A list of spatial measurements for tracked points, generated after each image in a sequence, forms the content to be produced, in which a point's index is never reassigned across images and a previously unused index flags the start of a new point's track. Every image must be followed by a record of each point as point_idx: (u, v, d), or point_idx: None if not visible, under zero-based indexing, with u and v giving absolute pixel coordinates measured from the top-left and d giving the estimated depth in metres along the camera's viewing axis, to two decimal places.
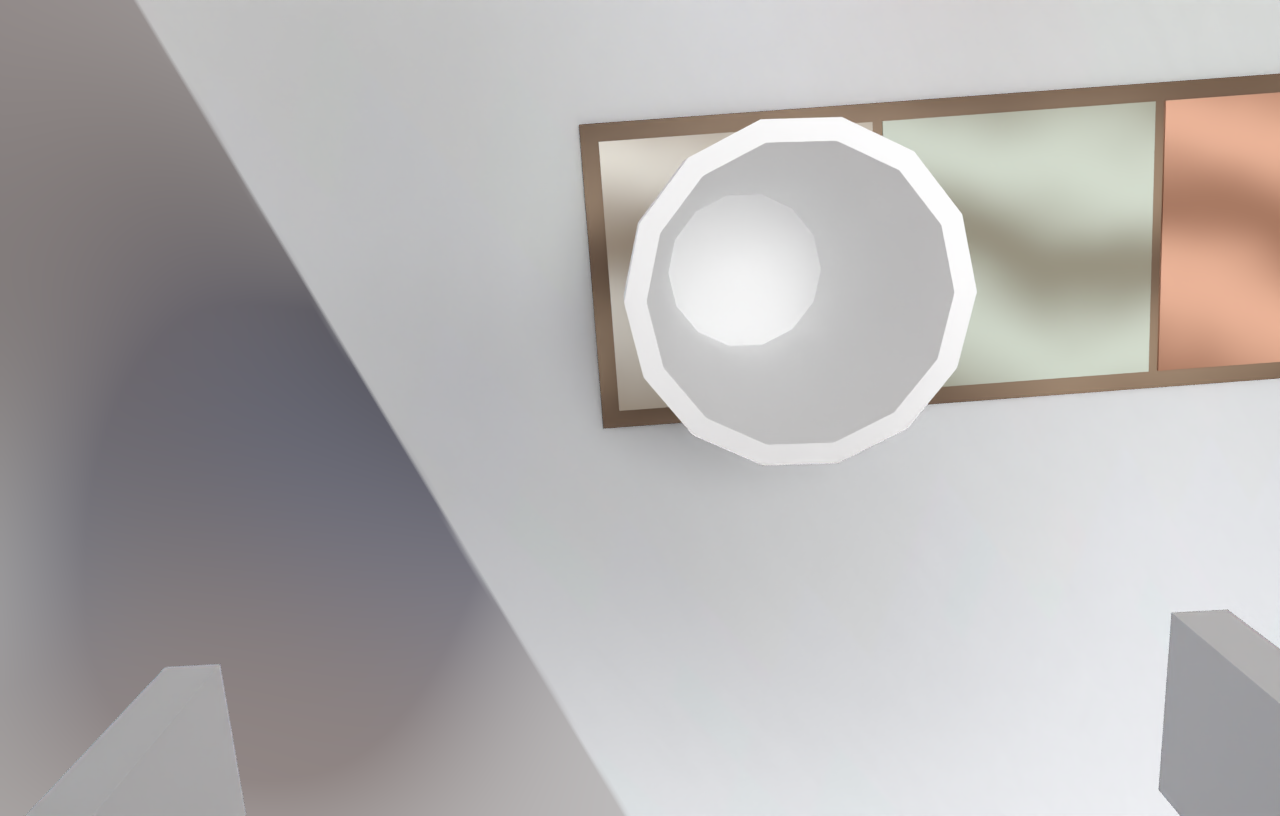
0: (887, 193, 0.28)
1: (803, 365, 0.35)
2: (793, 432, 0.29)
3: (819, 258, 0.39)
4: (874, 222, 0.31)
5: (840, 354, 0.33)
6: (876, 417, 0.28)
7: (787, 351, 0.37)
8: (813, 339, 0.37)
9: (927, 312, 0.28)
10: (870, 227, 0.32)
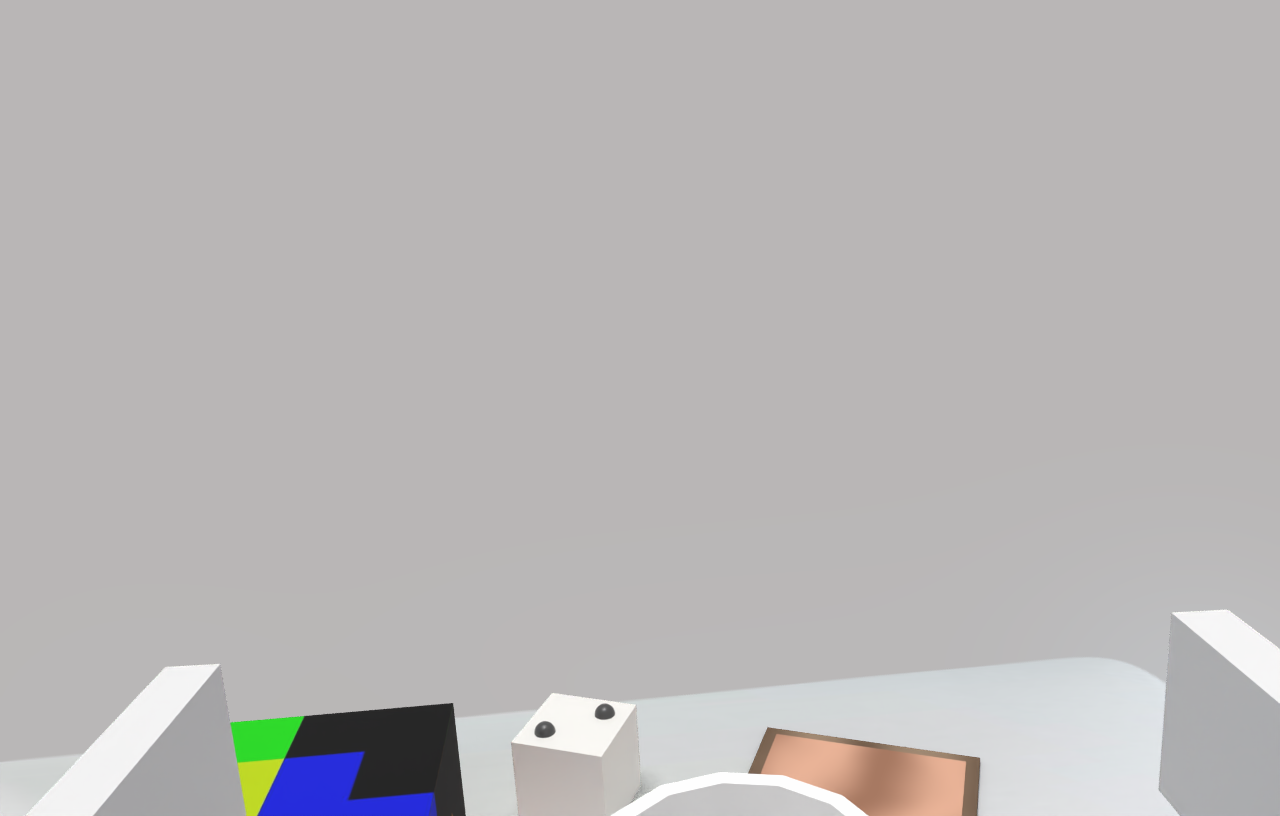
0: None
1: None
2: None
3: None
4: None
5: None
6: None
7: None
8: None
9: None
10: None
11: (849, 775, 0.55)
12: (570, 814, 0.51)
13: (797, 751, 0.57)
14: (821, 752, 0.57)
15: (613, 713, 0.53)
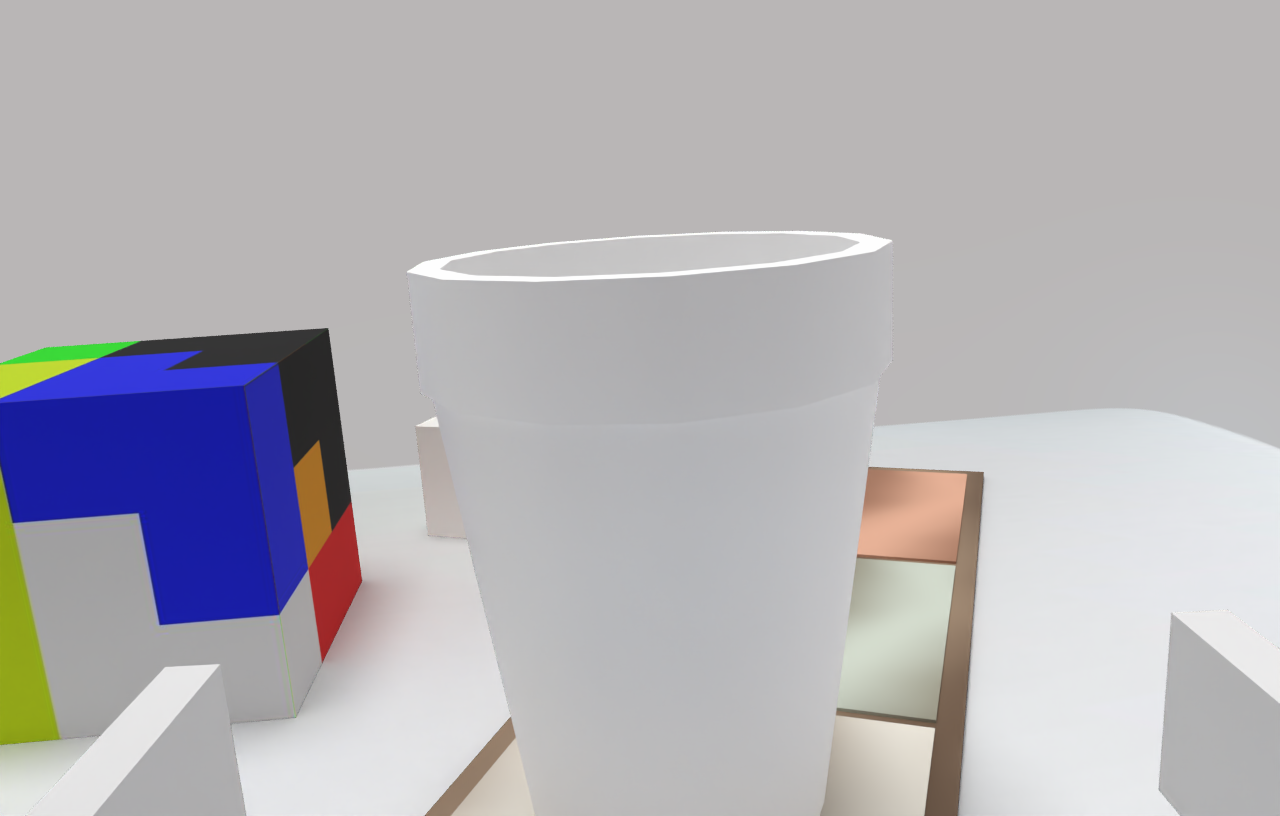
0: None
1: None
2: None
3: None
4: None
5: None
6: (841, 249, 0.21)
7: None
8: None
9: None
10: None
11: None
12: None
13: None
14: None
15: None
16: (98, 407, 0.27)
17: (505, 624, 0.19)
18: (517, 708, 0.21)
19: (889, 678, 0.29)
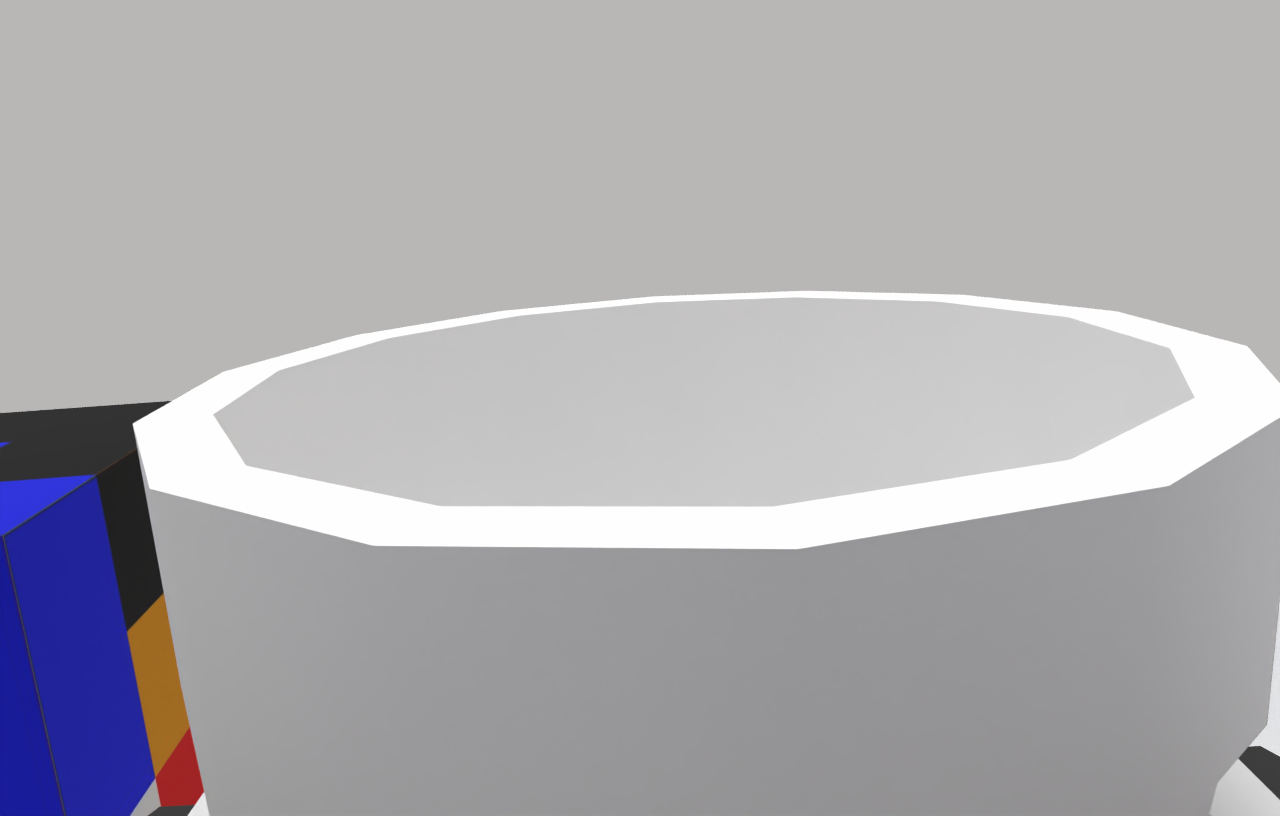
0: (577, 460, 0.13)
1: None
2: None
3: None
4: None
5: None
6: (1086, 348, 0.10)
7: None
8: None
9: (844, 408, 0.13)
10: None
11: None
12: None
13: None
14: None
15: None
16: None
17: None
18: None
19: None
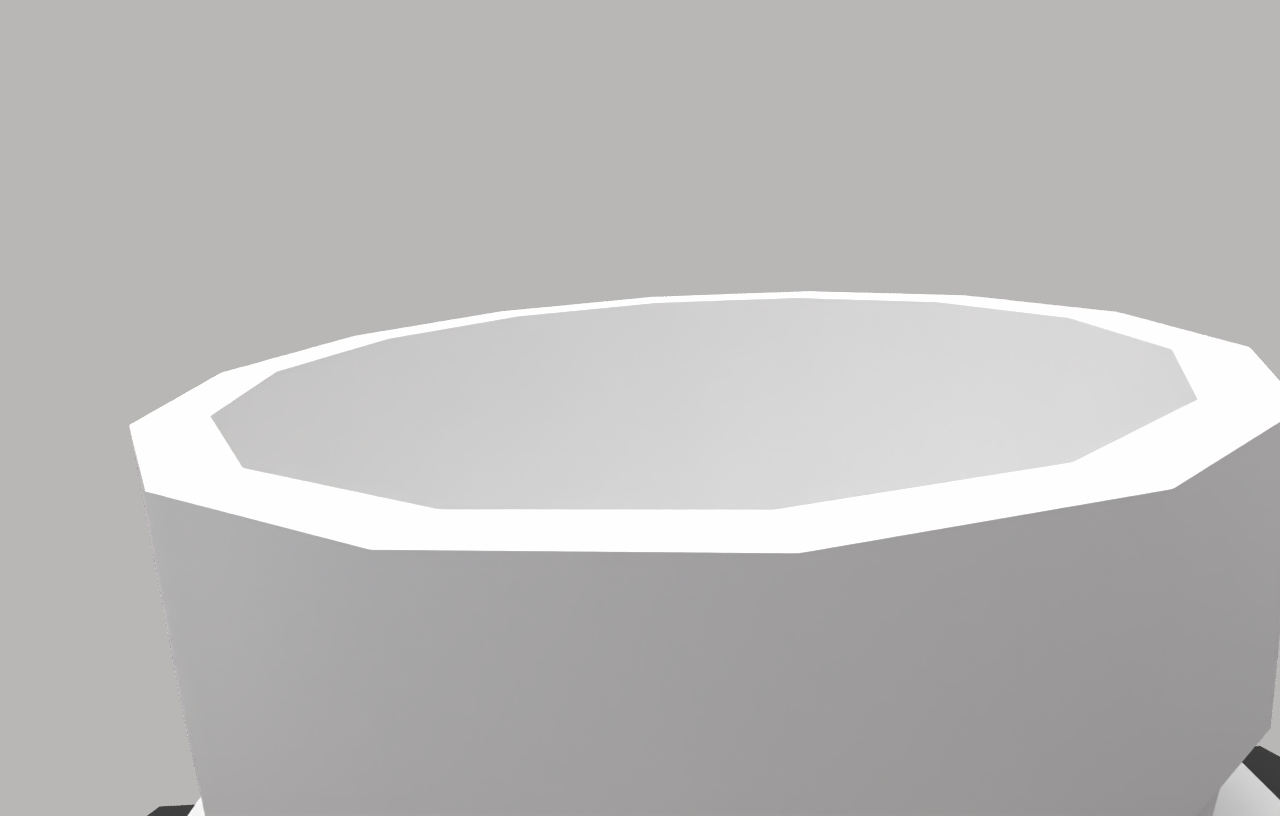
0: (576, 461, 0.13)
1: None
2: None
3: None
4: None
5: None
6: (1088, 349, 0.10)
7: None
8: None
9: (845, 408, 0.13)
10: None
11: None
12: None
13: None
14: None
15: None
16: None
17: None
18: None
19: None
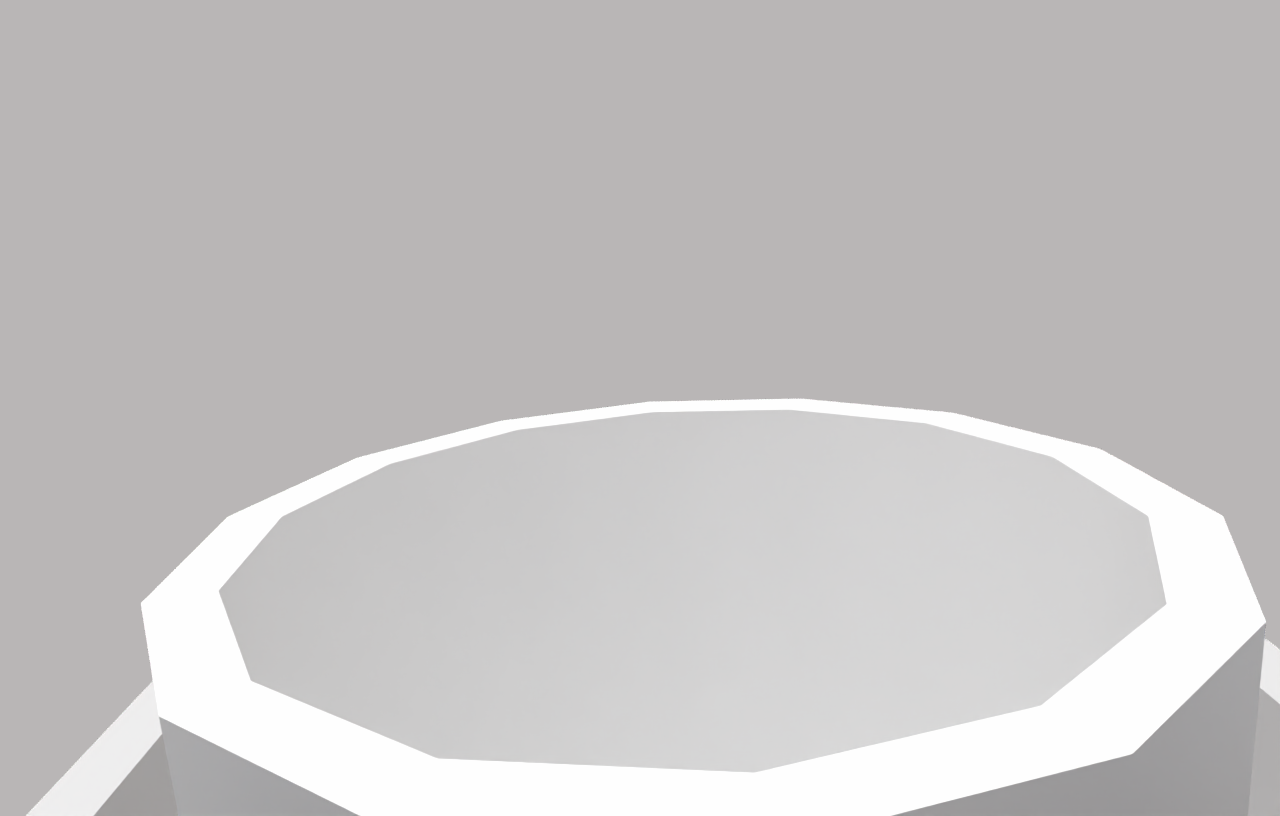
0: (575, 567, 0.14)
1: None
2: None
3: None
4: (654, 745, 0.14)
5: None
6: (1070, 492, 0.10)
7: None
8: None
9: (836, 519, 0.13)
10: None
11: None
12: None
13: None
14: None
15: None
16: None
17: None
18: None
19: None
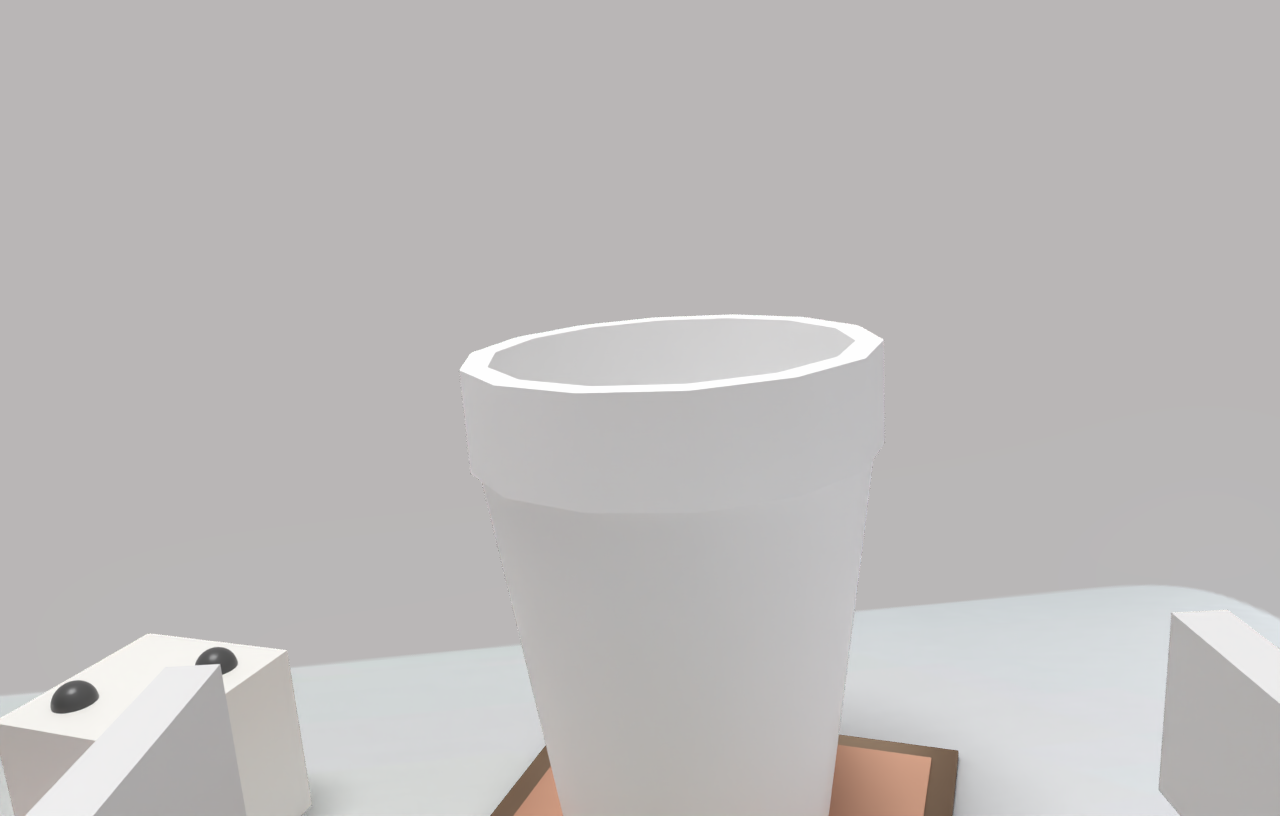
0: None
1: None
2: None
3: None
4: None
5: None
6: (839, 341, 0.23)
7: None
8: None
9: (749, 372, 0.26)
10: None
11: None
12: None
13: None
14: None
15: (229, 665, 0.27)
16: None
17: (544, 675, 0.22)
18: (554, 747, 0.23)
19: None
